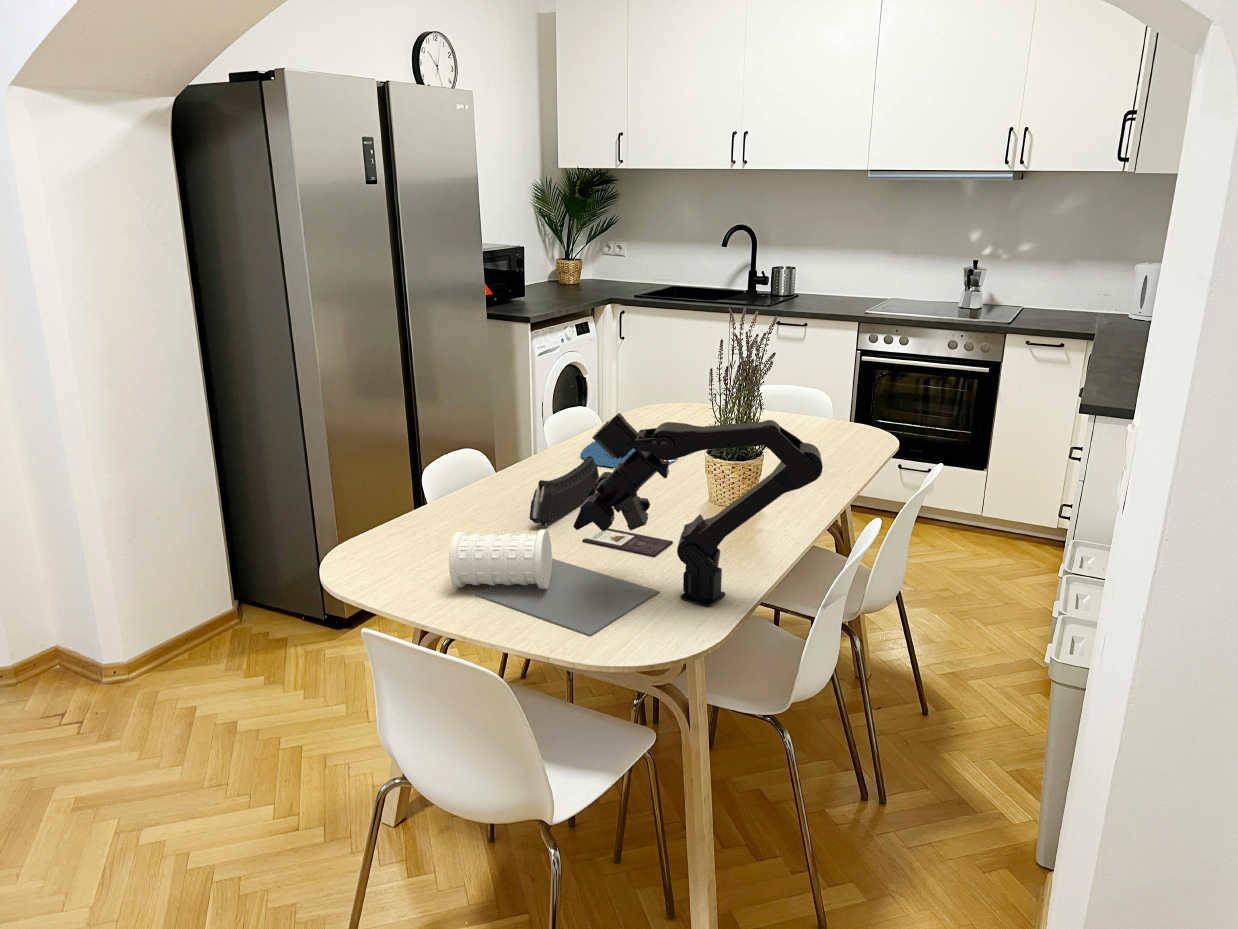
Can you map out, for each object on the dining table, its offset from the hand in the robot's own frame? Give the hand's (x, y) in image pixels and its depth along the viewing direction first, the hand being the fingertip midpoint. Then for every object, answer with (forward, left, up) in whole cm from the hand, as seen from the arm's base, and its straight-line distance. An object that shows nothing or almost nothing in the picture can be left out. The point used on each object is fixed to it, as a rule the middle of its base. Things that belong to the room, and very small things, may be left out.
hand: (575, 527), depth 172 cm
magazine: (+30, -34, -13) cm, 47 cm away
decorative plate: (+44, -81, -14) cm, 93 cm away
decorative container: (+5, +3, -7) cm, 9 cm away
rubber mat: (0, +3, -13) cm, 13 cm away
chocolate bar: (+6, -25, -13) cm, 29 cm away
